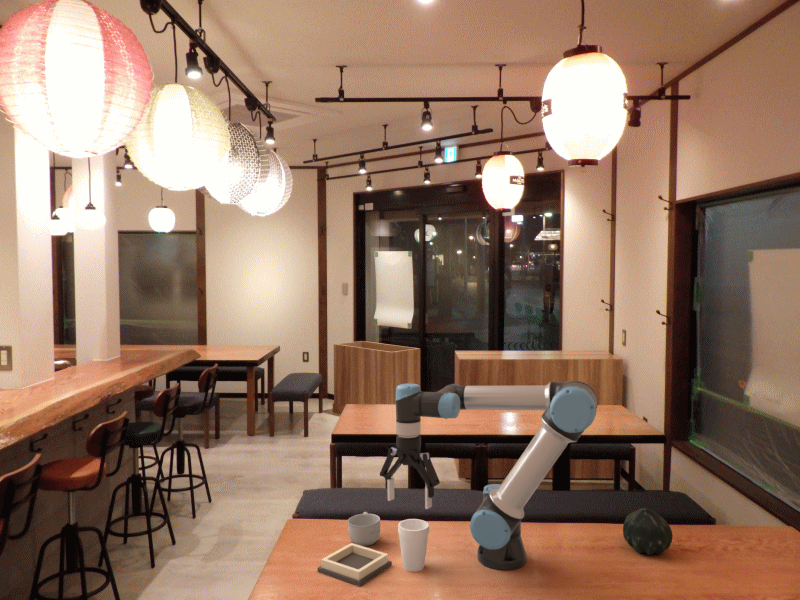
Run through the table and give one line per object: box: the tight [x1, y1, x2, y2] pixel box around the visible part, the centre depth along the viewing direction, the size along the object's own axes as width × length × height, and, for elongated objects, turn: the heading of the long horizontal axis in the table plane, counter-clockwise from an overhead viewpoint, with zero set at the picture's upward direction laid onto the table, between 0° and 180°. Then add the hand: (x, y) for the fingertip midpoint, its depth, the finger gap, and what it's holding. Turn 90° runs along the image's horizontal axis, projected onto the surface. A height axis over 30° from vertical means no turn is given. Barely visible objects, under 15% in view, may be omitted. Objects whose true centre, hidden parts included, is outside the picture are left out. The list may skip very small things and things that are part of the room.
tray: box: [317, 542, 393, 587], centre depth 189 cm, size 16×16×4 cm
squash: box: [622, 507, 674, 556], centre depth 202 cm, size 14×15×15 cm
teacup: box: [347, 511, 381, 547], centre depth 209 cm, size 14×11×8 cm
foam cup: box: [397, 518, 430, 573], centre depth 190 cm, size 10×9×13 cm
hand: (409, 503), depth 191 cm, fingers open, 13 cm apart
